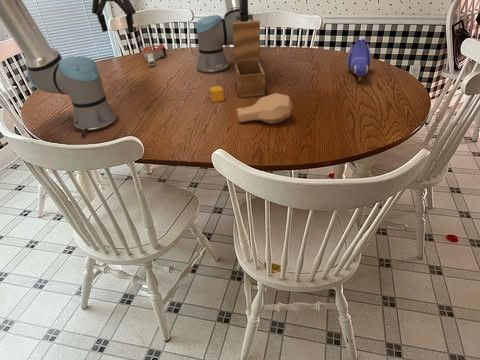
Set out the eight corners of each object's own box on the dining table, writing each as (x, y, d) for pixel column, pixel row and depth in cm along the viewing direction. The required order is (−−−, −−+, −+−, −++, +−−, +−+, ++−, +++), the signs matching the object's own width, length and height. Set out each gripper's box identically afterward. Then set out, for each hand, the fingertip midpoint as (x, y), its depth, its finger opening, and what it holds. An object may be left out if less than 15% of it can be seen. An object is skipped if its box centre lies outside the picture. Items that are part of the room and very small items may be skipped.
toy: (345, 75, 169) (348, 84, 147) (347, 38, 162) (351, 41, 140) (367, 75, 167) (373, 84, 145) (370, 36, 160) (377, 40, 138)
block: (224, 100, 144) (223, 89, 141) (213, 102, 143) (212, 91, 140) (221, 96, 147) (220, 85, 145) (210, 98, 146) (209, 87, 144)
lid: (259, 21, 139) (256, 10, 144) (232, 23, 139) (230, 12, 144) (258, 59, 153) (255, 48, 158) (234, 61, 153) (232, 50, 158)
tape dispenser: (152, 70, 182) (177, 56, 195) (150, 60, 179) (175, 46, 191) (127, 64, 190) (153, 51, 202) (125, 54, 186) (151, 41, 199)
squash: (296, 124, 124) (294, 103, 117) (239, 134, 126) (235, 113, 119) (291, 106, 131) (289, 85, 125) (238, 116, 133) (233, 96, 127)
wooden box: (265, 95, 146) (264, 73, 140) (239, 97, 145) (238, 76, 140) (259, 80, 159) (258, 60, 154) (235, 82, 159) (234, 62, 153)
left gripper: (136, -27, 139) (147, 30, 151) (85, -26, 146) (100, 28, 159) (125, -25, 133) (138, 35, 146) (73, -24, 141) (89, 32, 153)
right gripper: (254, -35, 129) (255, 33, 143) (249, -38, 141) (251, 25, 154) (233, -33, 128) (237, 35, 142) (230, -37, 140) (234, 26, 154)
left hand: (118, 31), depth 152 cm, fingers open, 13 cm apart
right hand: (244, 29), depth 148 cm, fingers closed on lid, 2 cm apart
